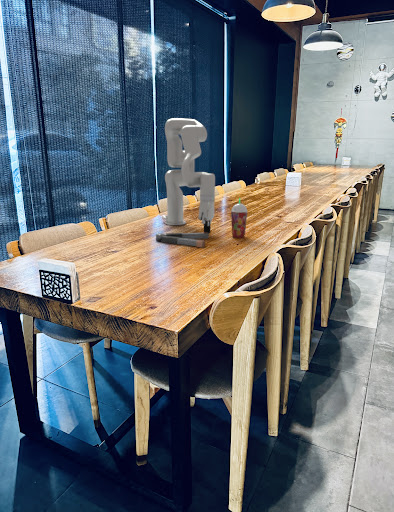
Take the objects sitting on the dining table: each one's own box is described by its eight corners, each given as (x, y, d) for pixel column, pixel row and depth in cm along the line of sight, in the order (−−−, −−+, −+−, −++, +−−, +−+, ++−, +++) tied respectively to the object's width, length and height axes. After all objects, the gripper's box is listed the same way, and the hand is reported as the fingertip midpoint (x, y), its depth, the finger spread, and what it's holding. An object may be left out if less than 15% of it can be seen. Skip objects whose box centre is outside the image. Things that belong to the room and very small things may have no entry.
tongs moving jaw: (156, 241, 184) (156, 235, 183) (155, 239, 189) (155, 233, 188) (209, 239, 188) (209, 233, 187) (207, 237, 193) (207, 231, 192)
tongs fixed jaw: (161, 242, 182) (161, 236, 181) (165, 241, 185) (165, 235, 184) (202, 247, 173) (202, 241, 172) (204, 246, 176) (204, 240, 175)
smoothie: (248, 235, 196) (250, 197, 191) (243, 239, 189) (245, 199, 184) (233, 234, 200) (234, 196, 194) (228, 237, 193) (229, 198, 187)
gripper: (206, 196, 200) (206, 229, 205) (194, 199, 187) (194, 235, 192) (219, 196, 197) (219, 231, 202) (208, 200, 184) (207, 236, 189)
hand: (207, 233), depth 197 cm, fingers closed
